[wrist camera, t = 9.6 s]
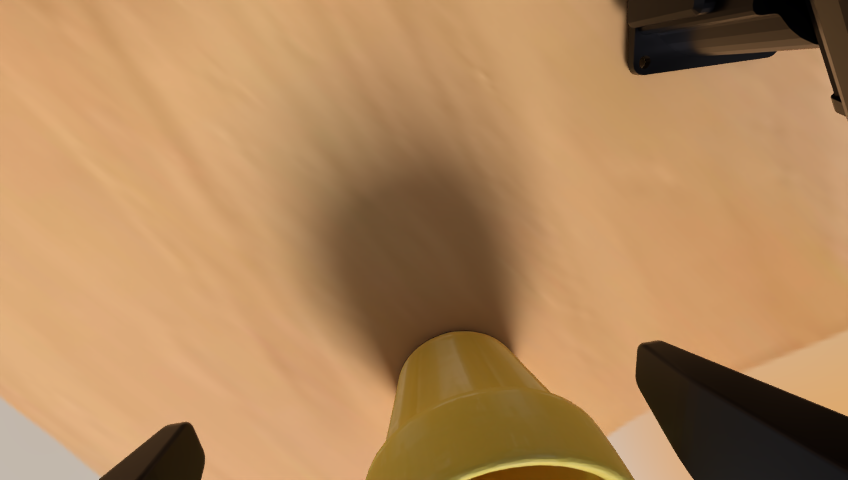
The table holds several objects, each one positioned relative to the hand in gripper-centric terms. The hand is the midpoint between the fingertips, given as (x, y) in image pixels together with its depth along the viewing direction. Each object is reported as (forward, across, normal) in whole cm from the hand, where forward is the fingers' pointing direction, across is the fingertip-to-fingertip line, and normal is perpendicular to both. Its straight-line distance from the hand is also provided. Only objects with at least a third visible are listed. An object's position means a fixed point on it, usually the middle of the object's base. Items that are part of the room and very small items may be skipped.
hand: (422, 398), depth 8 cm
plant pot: (+12, -2, +10) cm, 16 cm away
